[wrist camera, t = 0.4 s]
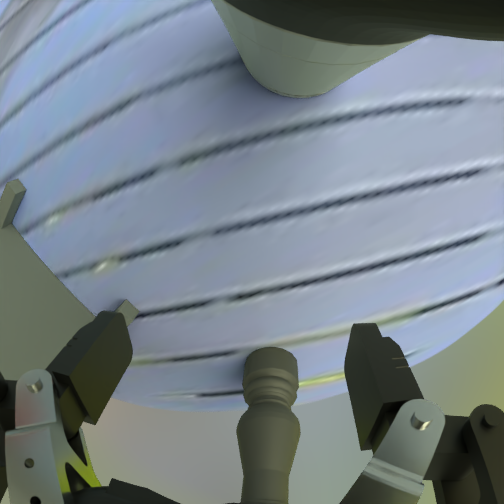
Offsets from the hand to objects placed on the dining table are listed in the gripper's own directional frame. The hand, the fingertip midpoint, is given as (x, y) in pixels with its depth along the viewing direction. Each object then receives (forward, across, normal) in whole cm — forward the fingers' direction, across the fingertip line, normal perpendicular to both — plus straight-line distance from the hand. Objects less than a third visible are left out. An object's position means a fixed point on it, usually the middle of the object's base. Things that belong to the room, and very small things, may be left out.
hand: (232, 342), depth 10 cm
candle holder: (+19, -1, +18) cm, 26 cm away
